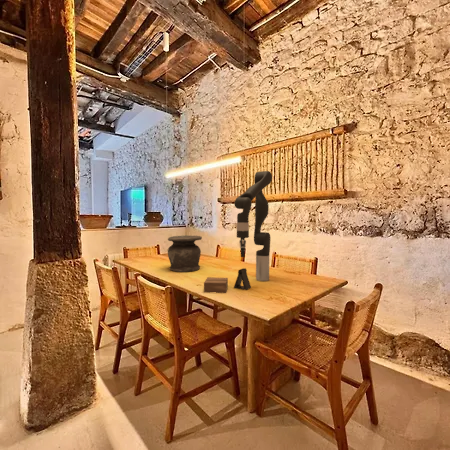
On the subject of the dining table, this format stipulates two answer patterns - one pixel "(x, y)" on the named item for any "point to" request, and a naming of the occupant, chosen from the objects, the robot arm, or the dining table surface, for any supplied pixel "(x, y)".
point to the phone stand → (242, 280)
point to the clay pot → (184, 253)
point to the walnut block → (216, 285)
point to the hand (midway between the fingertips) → (242, 255)
